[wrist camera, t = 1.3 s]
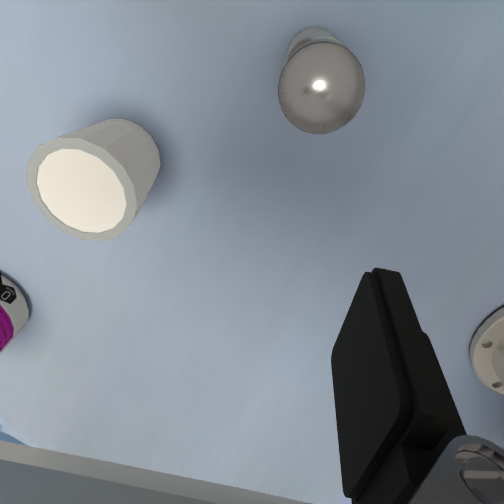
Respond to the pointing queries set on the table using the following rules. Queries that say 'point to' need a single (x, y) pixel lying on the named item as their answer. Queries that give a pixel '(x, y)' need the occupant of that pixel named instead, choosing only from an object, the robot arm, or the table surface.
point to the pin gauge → (320, 82)
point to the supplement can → (11, 312)
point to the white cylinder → (94, 178)
